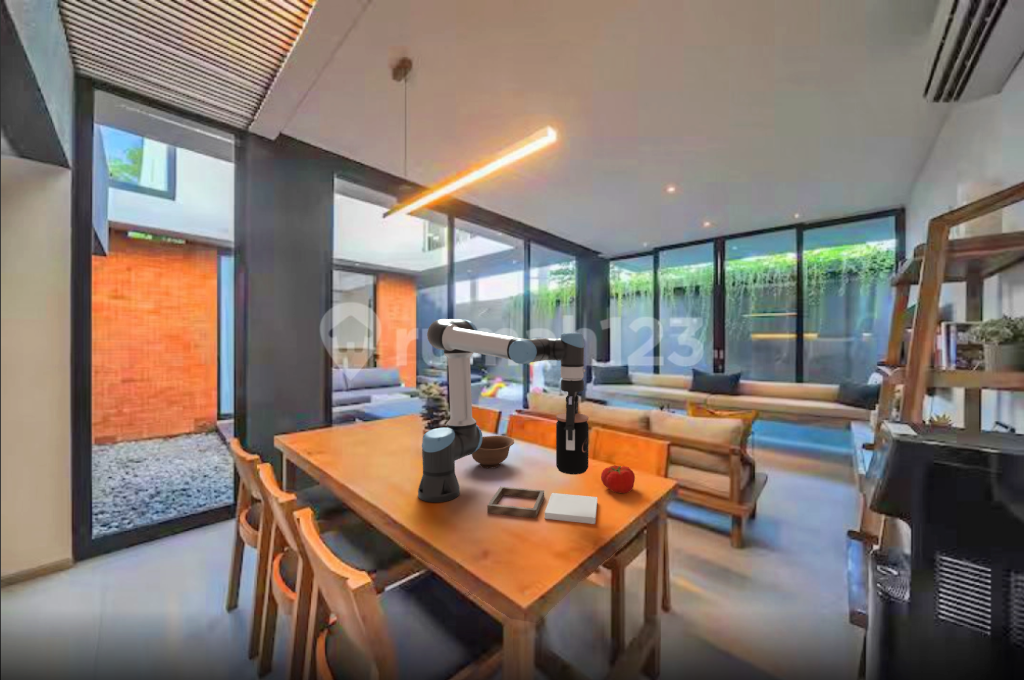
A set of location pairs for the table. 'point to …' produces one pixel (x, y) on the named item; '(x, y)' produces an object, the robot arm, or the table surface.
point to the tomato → (618, 478)
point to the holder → (512, 509)
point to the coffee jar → (576, 458)
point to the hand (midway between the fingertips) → (572, 444)
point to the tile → (572, 508)
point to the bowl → (493, 451)
